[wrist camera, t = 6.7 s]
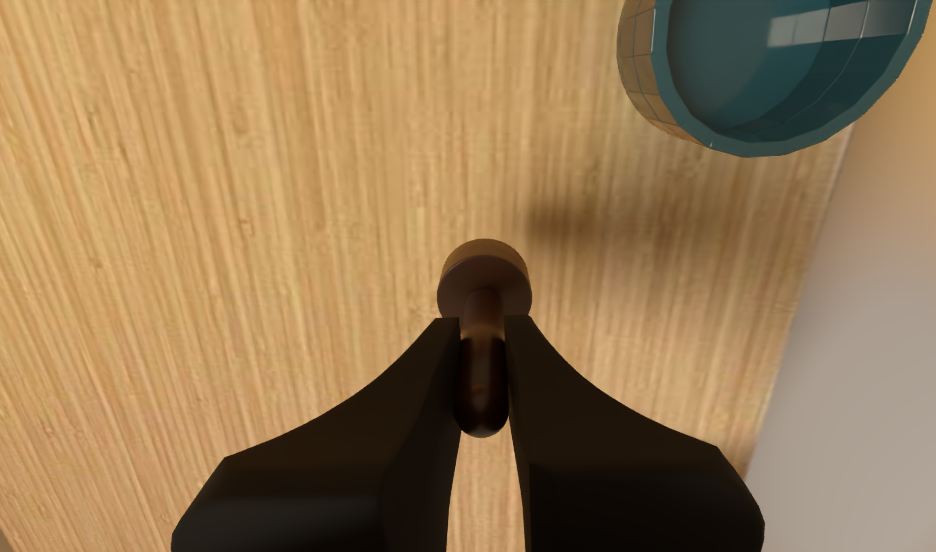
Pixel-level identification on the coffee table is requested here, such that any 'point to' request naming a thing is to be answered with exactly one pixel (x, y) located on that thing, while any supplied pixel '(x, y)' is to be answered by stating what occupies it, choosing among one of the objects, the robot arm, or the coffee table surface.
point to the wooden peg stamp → (483, 327)
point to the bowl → (763, 67)
